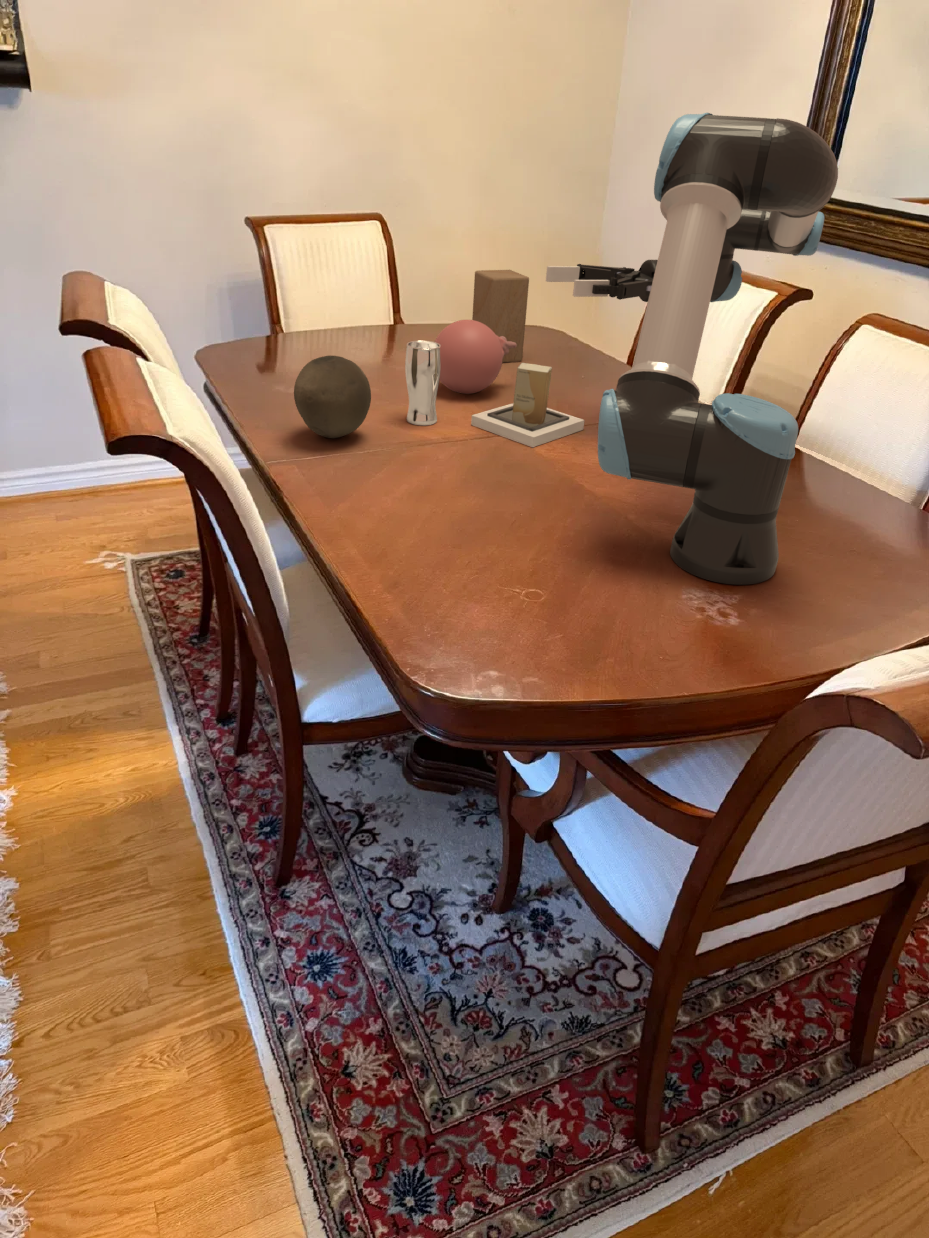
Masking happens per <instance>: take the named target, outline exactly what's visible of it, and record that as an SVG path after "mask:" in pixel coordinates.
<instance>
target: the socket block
mask: <svg viewBox="0 0 929 1238" xmlns="http://www.w3.org/2000/svg"><path fill="white" fill-rule="evenodd" d="M513 403H514V402H513ZM513 403H509V404H506V405H503V406H499V407H495V408H492V409H488V410H485V411H482V412H479V413H474V414H472V415H471V421H470V422H471V423H470V424H471V426H472V427H476V428H478V429H481V430H484V431H487V432H490V433H492V434H494V435H497V436H500V437H503V438H505V439H509V440H512V441H514V442H517V443H519V444H522V445H525V446H528V447H531V448H535V447H537V446H541V445H543V444H546V443H549V442H551V441H555V440H558V439H560V438H563V437H566V436H569V435H571V434H572V435H573V434H575V433H578V432H581V431H583V430H584V428H585V427H584V426H585V419H583V418H579V417H576V416H573V415H571V414H567V413H564V412H561V411H558V410H555V409H552V408H550V407H547V410H546V417H545V423H543V424H540V425H537V426H534V427H530V426H527V425H524V424H521V423H518V422H516V421H513V420H512V412H513Z"/></svg>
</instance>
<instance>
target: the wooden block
mask: <svg viewBox="0 0 929 1238" xmlns="http://www.w3.org/2000/svg"><path fill="white" fill-rule="evenodd" d="M473 282H474V283H473V284H474V285H473V298H472V299H473V300H472V301H473V302H472V319H471V320H475V321H478V322H481V323H483V324H485V325H486V326H488V327H489V328H490V329H491V330H492V331H493V332H494V333H495V335H497V336H498V337H500V336H504V337H505V338H506V340H507V341H511V342H515V343H516V344H517V346H516V347H515V348H509V353H508V354H507V355H504V357H503V359H502V364H504V363H505V364H506V363H516V362H517V363H518V362H519V363H520V362H522V361H523V357H524V356H523V355H524V345H525V343H524V342H525V331H526V319H527V318H526V317H527V308H528V296H529V295H528V294H529V286H530V285H529V284H530V278H529V276H526V275H525V274H522V273H519V272H517V271H515V270H512V269H485V270H475V271H474V281H473Z"/></svg>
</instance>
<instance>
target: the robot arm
mask: <svg viewBox="0 0 929 1238" xmlns="http://www.w3.org/2000/svg"><path fill="white" fill-rule="evenodd" d="M838 178H839V167H838V163H837V159H836V156H835V153H834V152H833V150H832V148H831V147H830V146H829V144H828V143H827V142H826V140H825V139H824V138H823V137H822V136H820V135H819V133H817V132H816V131H814V130H813V129H812V128H810V127H808V126H806V125H805V124H802V123H800V122H798V121H795V120H791V119H787V118H778V117H777V118H767V117H753V116H751V117H750V116H737V115H736V116H735V115H732V116H731V115H718V114H716V115H715V114H712V113H711V112H703V113H701V114H700V113H687V114H686V113H685V114H684V115H681V116H680V117H677V118H676V120H675V121H674V122H673V124H672V125H671V127H670V129H669V131H668V133H667V135H666V137H665V139H664V142H663V145H662V148H661V152H660V155H659V160H658V165H657V167H656V172H655V176H654V183H653V184H654V185H653V194H654V199H655V200H656V201H657V202H659V203H660V204H659V208H660V213H661V215H662V216H663V217H664V219H665V220H666V224H665V227H664V232H663V237H662V241H661V245H660V250H659V252H658V258H657V259H646V260H645V261H643V263H641V265H640V267H639V269H638V270H635V268H631V267H625V266H622V267H615V266H602V265H591V264H582V263H577V264H576V265H575V266H571V265H569V266H568V265H567V266H565V265H563V266H562V265H547V266H546V273H545V274H546V275H545V282H547V283H573V291H572V296H573V297H574V298H576V297H578V298H580V297H583V298H584V297H585V298H586V297H588V298H589V297H594V298H595V297H597V298H598V297H601V298H602V297H605V298H606V297H610V298H616V299H617V300H625V299H626V300H627V299H633V298H639V299H640V300H641V301H642V302H644V303H647V304H646V308H645V311H644V312H645V313H644V317H643V321H642V324H641V325H642V326H641V329H640V333H639V337H638V342H637V346H636V350H635V354H634V357H633V358H634V359H633V363H632V368H631V369H629V370H627V371H625V372H624V373H622V374H620V375H619V377H618V380H617V384H616V388H615V389H614V388H610V389H606V390H604V391H603V392H602V393H603V394H602V398H601V400H600V401H601V402H600V407H599V413H598V427H597V428H598V429H597V461H598V464H599V467H600V468H601V470H602V471H603V472H605V473H606V474H610V475H613V476H617V477H618V476H619V477H623V478H626V479H627V480H632V479H634V480H639V481H644V482H651V483H655V484H656V483H657V484H662V485H668V486H674V487H681V488H685V489H692V490H694V495H693V500H692V503H691V506H690V508H689V509H688V511H687V513H686V515H685V516H684V518H683V520H682V521H681V523H680V524H679V526H678V528H677V530H676V531H675V533H674V535H673V538H672V542H671V546H670V550H669V554H670V558H671V560H672V561H673V562H674V563H675V564H676V565H677V566H678V567H680V568H681V569H682V570H684V571H685V572H687V573H689V574H690V575H693V576H695V577H698V578H700V579H703V580H707V581H711V582H713V583H714V582H715V583H718V584H719V583H720V584H725V585H733V586H734V585H738V586H741V585H742V586H743V585H754V584H760V583H763V582H766V581H768V580H769V579H771V578H772V577H773V576H774V574H775V573H776V569H777V566H778V561H779V554H780V553H779V543H778V534H777V533H778V531H777V522H776V521H777V516H778V514H779V513H778V512H779V509H780V505H781V500H782V499H783V498H782V497H783V493H784V489H785V485H786V481H787V478H788V473H789V470H790V466H791V462H792V459H794V457H795V454H796V449H795V448H796V444H797V439H798V433H799V424H798V422H797V420H796V419H795V417H794V415H793V414H792V413H790V412H789V411H788V410H786V409H785V408H782V406H780V405H777V404H775V403H772V402H770V401H769V400H765V399H762V398H759V397H755V396H752V395H749V394H748V395H747V394H742V393H734V394H732V393H729V392H727V393H721V394H718V395H717V396H715V398H714V399H713V400H712V401H711V402H712V403H711V404H707V403H702V402H699V399H700V397H701V396H700V395H701V391H700V388H699V386H698V385H697V384H696V382H695V381H694V380H693V378H694V374H695V369H696V364H697V359H698V355H699V350H700V347H701V342H702V339H703V333H704V328H705V326H706V321H707V316H708V312H709V308H710V303H715V302H726V301H730V300H732V299H734V297H735V296H736V295H738V293H739V291H740V289H741V286H742V284H743V283H742V282H743V277H742V273H743V271H742V270H743V269H742V267H741V265H740V263H739V262H738V261H736V260H733V259H734V256H735V250H745V251H746V250H747V251H755V252H765V253H775V254H782V255H783V254H785V255H792V256H794V257H796V256H797V257H798V256H807V257H808V256H813V255H815V253H817V251H818V247H819V244H820V240H821V236H822V233H823V227H824V223H825V214H824V213H823V212H821V211H820V210H822V209H823V208H824V207H825V206H826V205H827V204H828V202H829V201H830V199H831V198H832V196H833V195H834V192H835V190H836V187H837V183H838Z"/></svg>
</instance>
